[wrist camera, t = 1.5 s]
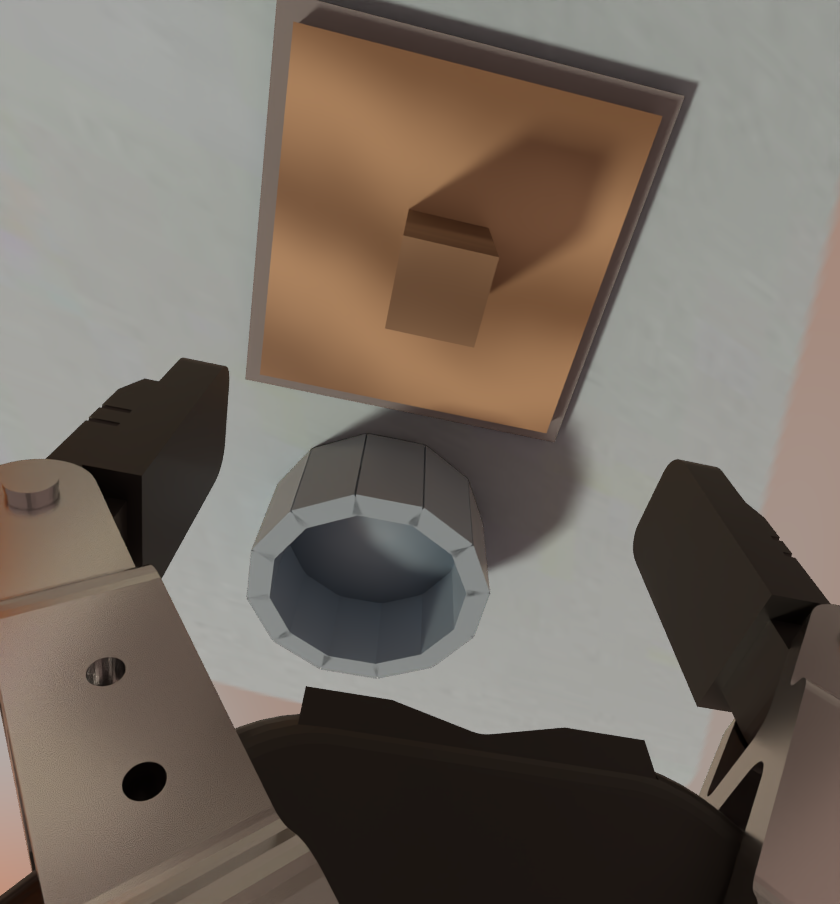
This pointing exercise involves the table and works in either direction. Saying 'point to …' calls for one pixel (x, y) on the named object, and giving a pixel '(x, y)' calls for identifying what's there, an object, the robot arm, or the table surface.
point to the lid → (440, 228)
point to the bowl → (370, 559)
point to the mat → (304, 8)
